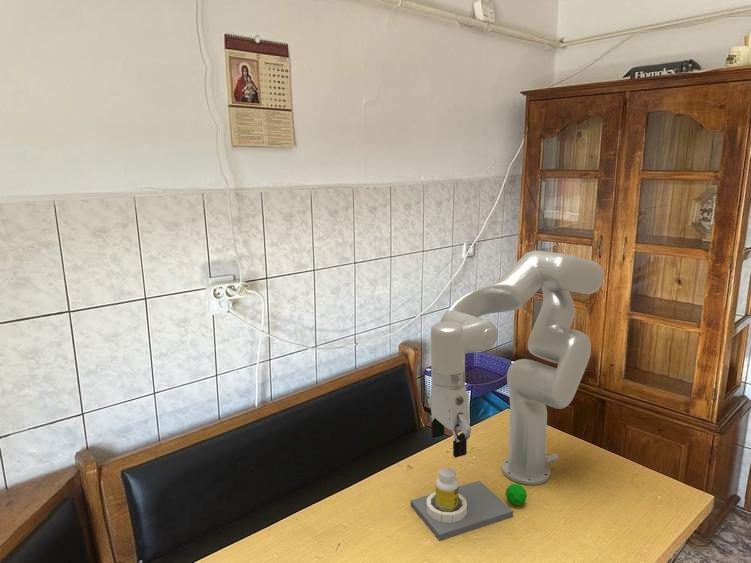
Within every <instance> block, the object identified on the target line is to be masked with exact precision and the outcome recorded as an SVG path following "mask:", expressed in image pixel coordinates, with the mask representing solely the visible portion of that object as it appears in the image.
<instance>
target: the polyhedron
mask: <svg viewBox="0 0 751 563" xmlns="http://www.w3.org/2000/svg"><path fill="white" fill-rule="evenodd" d="M505 496H506V499H507V501H508V503H510V504H511V505H513V506H522V505H523V504H525V503H526V500H527V497H528V494H527V490H526V489H525V487H524V486H523V485H522V484H520V483H511V484H510V485H509V486H508V487H507V488H506V491H505Z"/></svg>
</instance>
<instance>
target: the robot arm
mask: <svg viewBox="0 0 751 563" xmlns="http://www.w3.org/2000/svg"><path fill="white" fill-rule="evenodd" d="M604 276H605V275H604V271H603V268H602V267H601V265H600V264H599V263H598V262H596V261H595V260H589V259H586V258H582V257H577V256H574V255H571V254H566V253H559V252H552V251H546V250H545V251H544V250H532V251H529V252H527V253H525V254H524V255H523V256H522V257H521V258H520V259H519V260H517V261H516V262H515V263H514V264H513V265H512V267H511V268H509V269H508V270H507V271H506V272H505V273H504V274H503V275H502V276H500V278H499V279H498V280H496V282H493V283H491V284H488V285H485V286H482V287H480V288H477V289H475V290H473V291H470V292H469V293H466V294H464V295H463V296H461V297H459V299H457V301H455V302H454V303H452V305H451V306H450V307H449V308H448V309H447V310H446V311H445V312H444V314H442V316H441V318H440V321H439V322H436V323H434V324H433V325H432V326H431V328H430V371H431V372H430V377H431V378H430V379H431V390H430V398H428V399H427V402H428V407H429V408H428V411H429V413H430V417H429V418H430V421H431V424H430V425H431V437H432V438H433V439H435V438H439V437H443V436H445V428H446V429H448V430H449V431H451V433H452V436H453V438H454V440H452V449H453V450H452V455H453V457H454V458H459V457H460V458H461V457H463V456H466V455H467V453H468V452H467V451H468V446H467V443H468V442H467V440H469V438H470V436H471V433H472V430H473V429H472V427H471V425H470V410H469V408H470V407H469V397H468V392H467V387H466V385H465V384H466V354H470V353H471V354H472V353H481V352H482V353H483V352H485V351H488V350H490V349H491V348H493V347H494V345H495V344H496V342H497V340H498V338H499V332H498V328H497V326H496V325H495V324H494V323H493V322H492V321H490V320H488V319H486V318H482V317H483V316H485V315H489V314H495V313H506V312H512V311H516V310H519V309H521V308H522V307H523V306H525V305H526V304H527V303H528V302H529V300H530V299H531V298H532V297H533V296H534V295H535V294H536V293H537V292H538V291H539V290H540V289H541V291H542V296H543V297H542V298H543V300H542V305H541V308H540V311H539V314H538V316H537V318H536V321H535V322H534V326H533V328H532V330H531V332H530V335H529V337H528V340H527V350H528V352H530V354H532V355H533V356H535V357H537V358H540V359H542V360H545V361H548V362H552V363H555V364H557V367H555V366H554V367H553V366H550V365H548V364H544V363H542V362H539V361H535V360H532V359H529V358H527V359H526V358H521V359H517V360H515V361H513V362H512V363H511V364H510V366H509V367H508V369H507V374H506V383H507V389H508V394H509V428H508V451H507V452H508V456H507V457H508V458H506V459H505V460H504V461H503V462H502V464H501V471H502V473H503V474H504V475H505V477H507V478H508V479H509V480H511V481H513V482H515V483H517V484H521V485H527V486H528V485H529V486H530V485H541V484H543V483H545V482H548V480H549V479H550V477H551V469H550V467H549V466H548V465H550V464H551V463H554V462H557V461H559V459H560V457H559V454H557V453H552V454H550V455H549V452H548V451H546V447H547V446H546V445H547V426H548V411H547V406H548V407H550V408H553V409H559V410H562V409H565V408H567V407H569V405H570V404H571V403H572V401H573V399H574V397H575V395H576V393H577V391H578V388H579V386H580V383H581V380H582V379H583V376H584V373H585V370H586V368H587V366H588V363H589V360H590V357H591V354H592V353H591V352H592V348H591V347H592V344H591V341H590V338H589V336H588V335H587V334H586V333H584V332H583V331H580V330H576V329H573V328H571V326H572V323H573V320H574V318H575V314H576V307H575V302H574V300H573V297H572V295H571V293H570V292H572V293H578V294H583V295H591V294H594V293H596V292H598V291H599V289H600V288H601V286H602V285H603V283H604V282H603V281H604V278H605V277H604ZM457 425H459V426H457ZM459 430H460V432H461V433H460V434H458V431H459Z"/></svg>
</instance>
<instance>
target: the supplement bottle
mask: <svg viewBox="0 0 751 563" xmlns="http://www.w3.org/2000/svg"><path fill="white" fill-rule="evenodd" d="M459 486H460V485H459V481H458V479H457V472H456V470H454V469H453V468H451V467H443V468H440V469H439V470H438V478H437V479H436V480H435V492H436V499H435V508H436V509H437V510H439V511H442V512H454V511H457V510H458V494H459Z"/></svg>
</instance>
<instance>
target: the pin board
mask: <svg viewBox="0 0 751 563" xmlns="http://www.w3.org/2000/svg"><path fill="white" fill-rule="evenodd" d="M435 499H436V491H434V492H432V493H430V494H427V495H424V496H420V497H417V498H414V499H410V507H411V508H412V509H413V511H414V512H415V513H416V515H418V516H419V518H420V519H421V520H422V522H424V523H425V525H426V526H427V527H428V529H429V530H430V531H431V532H432V533H433V534H434V537H436V539H437V540H439V542H440V541H442V540H446V539H450V538H451V537H454V536H455V537H456V536H458V535H461V534H465V533H467V532H470V531H473V530H476V529H479V528H483V527H485V526H489V525H491V524H495V523H498V522H500V521H504V520H507V519H510V518H513V517H514V510H513V509H512V508H510V506H508V505H507V504H506V503H505V502H504V501H503V500H502V499H501V498H499V496H497V495H496V494H495V493H494V492H492V490H490V489H489V488H488V487H487V486H486V485H485V484H484V483H483V482H482V481H481V480H475V481H473V482H469V483H465V484H463V485H459V494H458V510H457V511H454V512H442V511H439V510H437V509H436V508H435Z"/></svg>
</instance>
